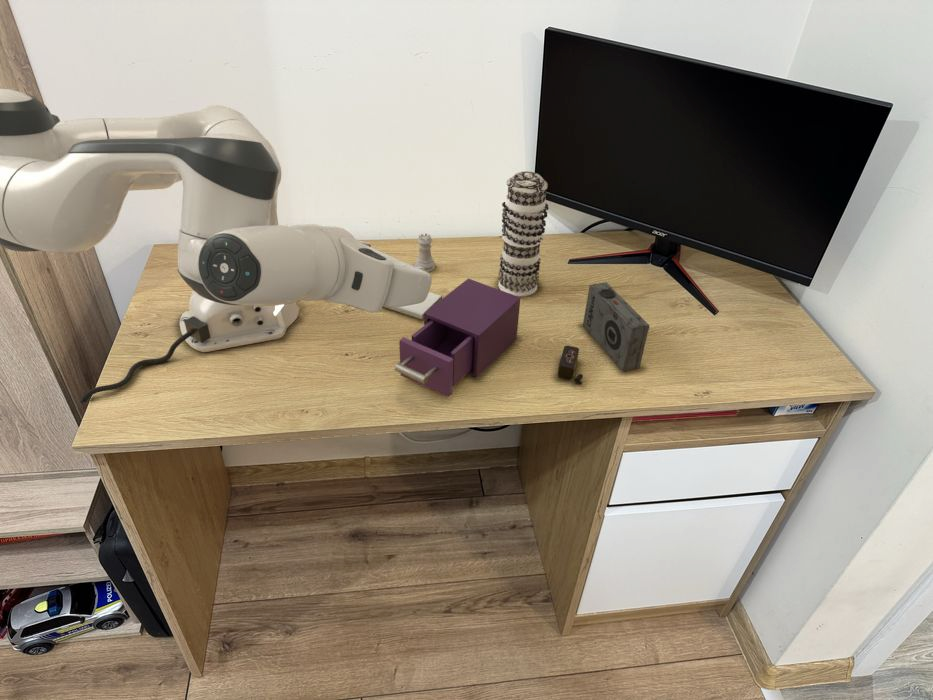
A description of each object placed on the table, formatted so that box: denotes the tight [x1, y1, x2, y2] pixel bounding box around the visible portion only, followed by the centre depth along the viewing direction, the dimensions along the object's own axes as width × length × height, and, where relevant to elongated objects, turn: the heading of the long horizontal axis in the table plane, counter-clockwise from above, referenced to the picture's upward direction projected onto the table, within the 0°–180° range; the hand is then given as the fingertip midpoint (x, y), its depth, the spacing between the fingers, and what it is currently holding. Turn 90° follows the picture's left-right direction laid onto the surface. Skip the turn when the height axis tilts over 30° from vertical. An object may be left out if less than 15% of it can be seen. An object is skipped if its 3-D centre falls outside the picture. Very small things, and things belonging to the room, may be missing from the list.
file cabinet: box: [423, 277, 521, 379], centre depth 130 cm, size 15×12×10 cm
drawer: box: [394, 320, 475, 398], centre depth 123 cm, size 18×10×8 cm, turn 147°
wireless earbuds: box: [557, 345, 584, 386], centre depth 127 cm, size 5×7×3 cm, turn 164°
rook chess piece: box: [414, 233, 436, 273], centre depth 153 cm, size 4×4×8 cm
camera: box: [582, 281, 650, 372], centre depth 132 cm, size 16×4×10 cm, turn 21°
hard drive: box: [382, 291, 443, 321], centre depth 144 cm, size 2×8×12 cm
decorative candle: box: [498, 171, 549, 298], centre depth 143 cm, size 9×9×25 cm
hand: (392, 260), depth 97 cm, fingers open, 8 cm apart
